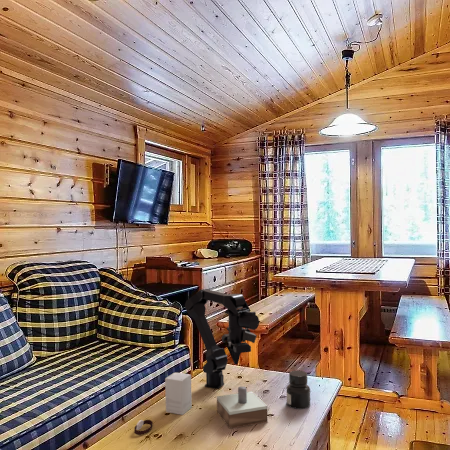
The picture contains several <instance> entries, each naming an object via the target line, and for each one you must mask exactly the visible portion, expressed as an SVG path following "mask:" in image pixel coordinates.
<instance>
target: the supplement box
mask: <svg viewBox="0 0 450 450" xmlns="http://www.w3.org/2000/svg"><path fill="white" fill-rule="evenodd" d="M164 382H165V385H164V386H165V390H164V391H165V413H171V414H175V415H182V416H183V415H185V414H186V413H187V412H188V411H189V410H190V409H192V407H193V406H192V404H193V403H192V402H193V400H192V397H193V396H192V374H188V373H183V372H182V373H181V372H173V373H172V374H170V375H168V376H167V377H165V379H164Z"/></svg>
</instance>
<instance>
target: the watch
mask: <svg viewBox="0 0 450 450" xmlns="http://www.w3.org/2000/svg"><path fill="white" fill-rule="evenodd" d="M153 424H154V422H153V420H151V419H145V420H143V419H140V420H138V421H137V423H136V425H135V426H134V428H133V429H134V431H133V432H134V434H135V435H136V436H142V435H146V434H147V433H149V432H150V431H151V430H152V427H153ZM144 425H149V427H147V428H146V429H143V430H141V429H142V428H143V426H144Z"/></svg>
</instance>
